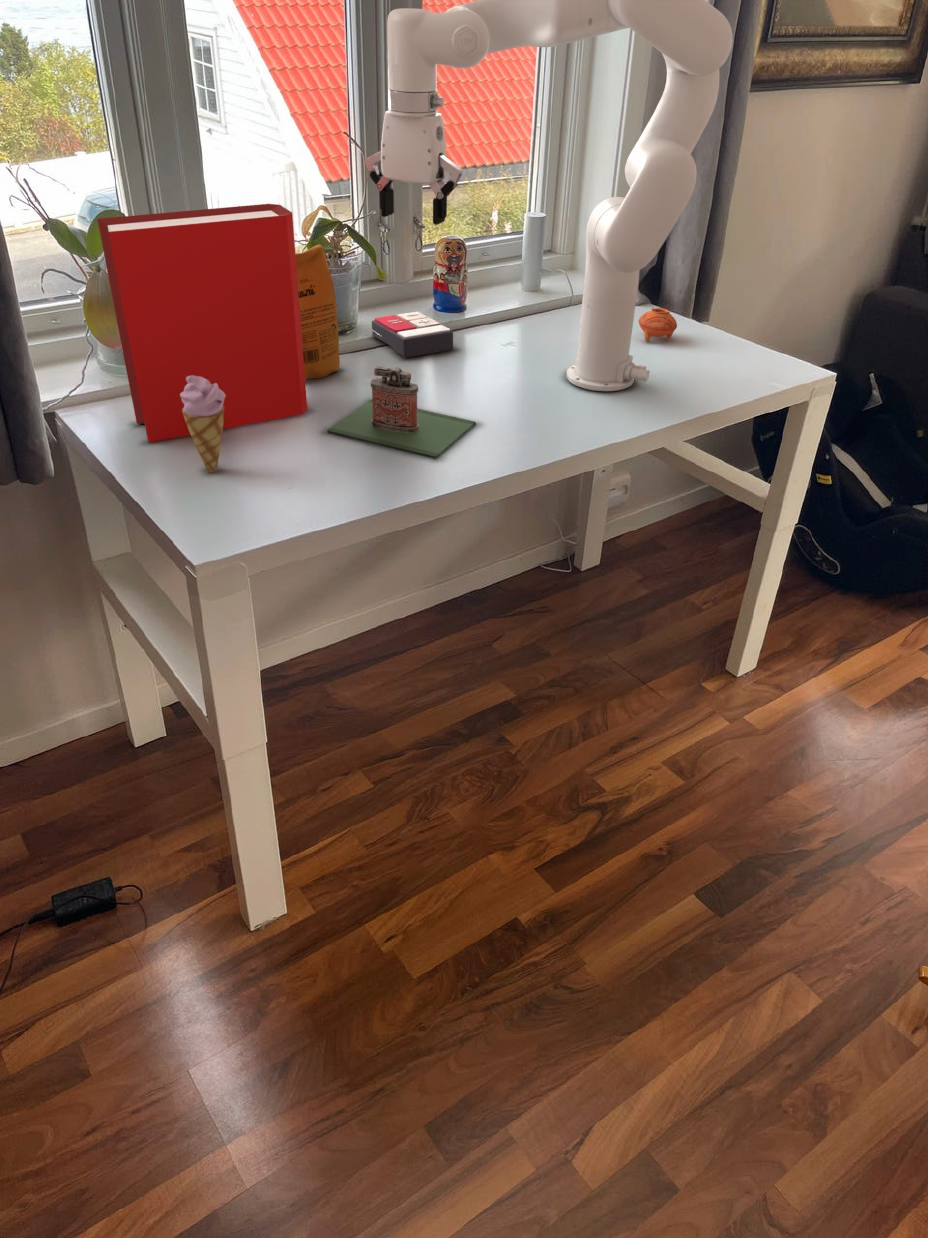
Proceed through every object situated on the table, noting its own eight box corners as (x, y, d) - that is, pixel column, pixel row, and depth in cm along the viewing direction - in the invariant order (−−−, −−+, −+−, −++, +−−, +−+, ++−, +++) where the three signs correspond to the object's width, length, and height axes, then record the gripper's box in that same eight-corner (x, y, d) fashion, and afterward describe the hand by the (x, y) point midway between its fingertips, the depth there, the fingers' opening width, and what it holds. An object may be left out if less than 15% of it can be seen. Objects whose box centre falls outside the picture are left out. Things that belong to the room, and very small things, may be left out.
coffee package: (261, 370, 175) (248, 248, 162) (318, 356, 182) (310, 237, 169) (289, 387, 169) (278, 261, 156) (346, 372, 176) (341, 250, 163)
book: (148, 442, 149) (108, 231, 131) (136, 423, 155) (97, 218, 136) (310, 413, 160) (294, 214, 141) (293, 396, 166) (277, 202, 147)
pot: (627, 332, 197) (637, 300, 193) (658, 338, 200) (669, 307, 196) (644, 344, 190) (655, 311, 187) (676, 350, 193) (688, 317, 190)
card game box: (418, 309, 195) (454, 327, 184) (419, 330, 197) (454, 349, 187) (370, 316, 190) (404, 335, 180) (371, 337, 193) (404, 357, 182)
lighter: (421, 426, 156) (421, 368, 150) (413, 434, 153) (413, 376, 148) (376, 418, 158) (375, 361, 152) (368, 426, 155) (366, 368, 150)
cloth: (475, 423, 158) (476, 421, 158) (435, 458, 147) (435, 456, 147) (373, 400, 165) (373, 398, 165) (327, 432, 154) (327, 430, 154)
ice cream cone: (195, 460, 145) (181, 366, 136) (236, 459, 145) (224, 366, 137) (189, 480, 140) (173, 383, 131) (231, 479, 140) (218, 383, 131)
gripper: (472, 104, 146) (469, 221, 156) (376, 95, 152) (379, 207, 162) (451, 110, 141) (449, 230, 151) (352, 100, 146) (356, 216, 157)
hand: (413, 218), depth 156 cm, fingers open, 9 cm apart
